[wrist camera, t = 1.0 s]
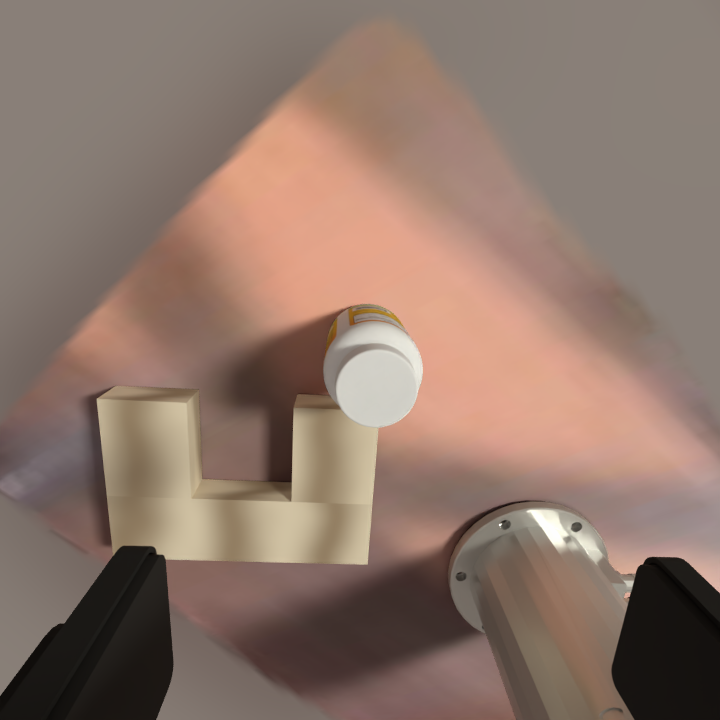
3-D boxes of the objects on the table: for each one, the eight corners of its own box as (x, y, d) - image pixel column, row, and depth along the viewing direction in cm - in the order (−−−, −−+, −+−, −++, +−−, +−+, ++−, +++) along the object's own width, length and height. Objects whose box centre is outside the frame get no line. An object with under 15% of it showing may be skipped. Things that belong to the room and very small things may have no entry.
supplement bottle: (358, 394, 31) (364, 462, 22) (310, 334, 30) (296, 379, 21) (421, 349, 31) (455, 401, 21) (375, 286, 29) (390, 311, 20)
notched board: (376, 397, 32) (379, 411, 29) (365, 541, 35) (367, 564, 32) (115, 385, 31) (96, 398, 28) (129, 534, 34) (113, 558, 31)
